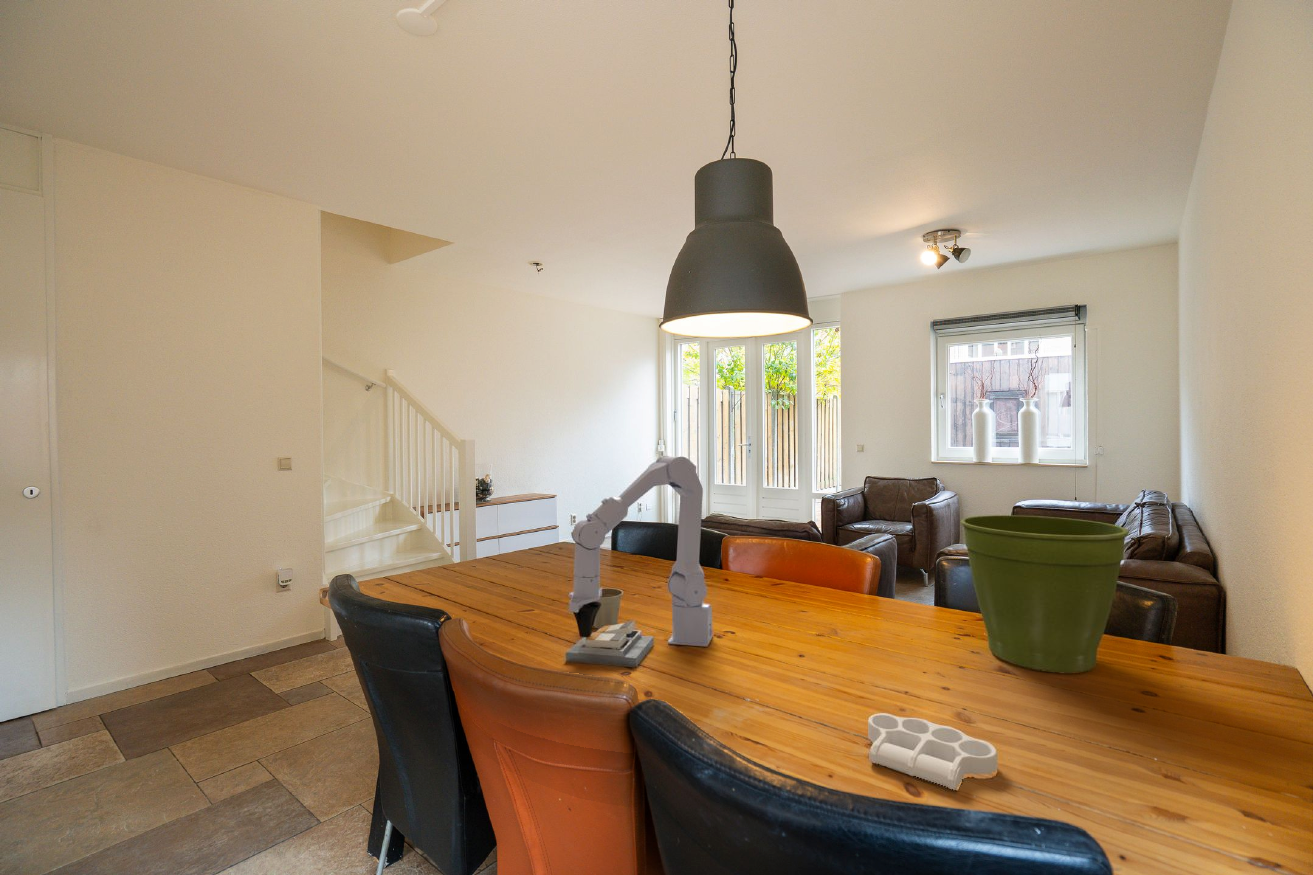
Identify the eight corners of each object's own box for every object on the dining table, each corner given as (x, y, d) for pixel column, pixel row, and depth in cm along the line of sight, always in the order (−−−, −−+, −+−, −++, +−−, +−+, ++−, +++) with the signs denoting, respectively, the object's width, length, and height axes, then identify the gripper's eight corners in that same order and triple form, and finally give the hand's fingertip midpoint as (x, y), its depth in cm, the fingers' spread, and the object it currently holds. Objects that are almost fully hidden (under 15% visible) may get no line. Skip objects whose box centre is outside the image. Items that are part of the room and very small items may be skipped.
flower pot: (622, 631, 148) (621, 597, 148) (584, 632, 148) (584, 597, 148) (625, 620, 157) (624, 587, 157) (589, 620, 157) (589, 588, 158)
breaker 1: (635, 627, 138) (634, 620, 138) (629, 633, 133) (628, 626, 133) (604, 633, 140) (602, 626, 140) (597, 639, 135) (596, 632, 136)
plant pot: (962, 671, 120) (960, 529, 120) (963, 628, 146) (961, 512, 146) (1149, 699, 106) (1146, 539, 106) (1113, 646, 132) (1110, 518, 132)
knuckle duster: (847, 761, 88) (882, 723, 99) (983, 808, 76) (1005, 759, 88) (847, 738, 88) (882, 703, 99) (982, 782, 76) (1004, 737, 88)
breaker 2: (626, 640, 131) (626, 633, 131) (619, 647, 127) (619, 640, 127) (592, 639, 133) (592, 632, 133) (585, 646, 129) (584, 639, 129)
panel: (653, 645, 138) (653, 631, 138) (636, 667, 124) (635, 652, 124) (589, 640, 142) (589, 626, 142) (565, 661, 129) (565, 646, 129)
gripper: (582, 567, 139) (581, 625, 139) (556, 580, 125) (554, 644, 125) (611, 569, 137) (609, 628, 137) (587, 583, 123) (585, 648, 123)
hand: (585, 636), depth 131 cm, fingers closed, pressing on breaker 2
